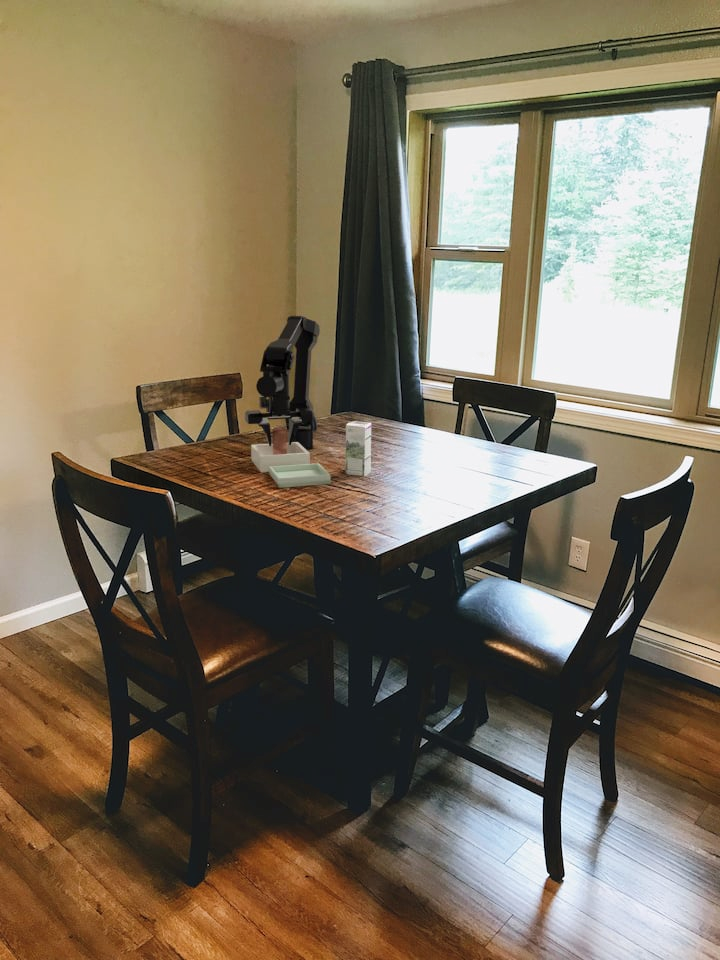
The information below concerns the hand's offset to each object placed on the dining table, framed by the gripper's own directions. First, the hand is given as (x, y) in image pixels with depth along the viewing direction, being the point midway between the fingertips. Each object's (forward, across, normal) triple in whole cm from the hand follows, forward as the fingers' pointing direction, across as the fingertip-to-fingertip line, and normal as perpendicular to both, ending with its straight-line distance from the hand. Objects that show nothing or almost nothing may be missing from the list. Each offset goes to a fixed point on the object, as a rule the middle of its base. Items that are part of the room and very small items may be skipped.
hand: (279, 445), depth 217 cm
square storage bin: (+6, 0, 0) cm, 6 cm away
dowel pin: (+6, 0, 0) cm, 6 cm away
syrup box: (+6, -19, +14) cm, 24 cm away
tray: (+6, -2, +15) cm, 16 cm away
